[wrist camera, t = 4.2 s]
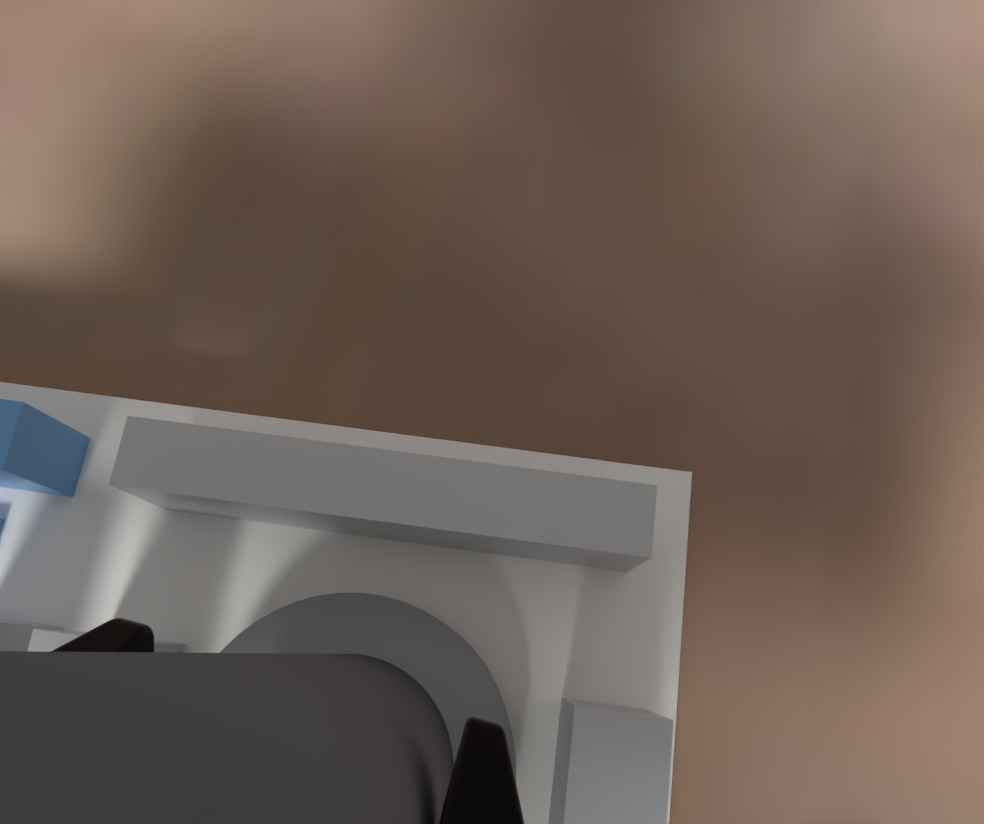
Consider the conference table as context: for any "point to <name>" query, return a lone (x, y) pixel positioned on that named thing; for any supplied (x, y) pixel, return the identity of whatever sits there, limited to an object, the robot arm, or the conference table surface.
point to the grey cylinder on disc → (249, 723)
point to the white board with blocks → (366, 563)
